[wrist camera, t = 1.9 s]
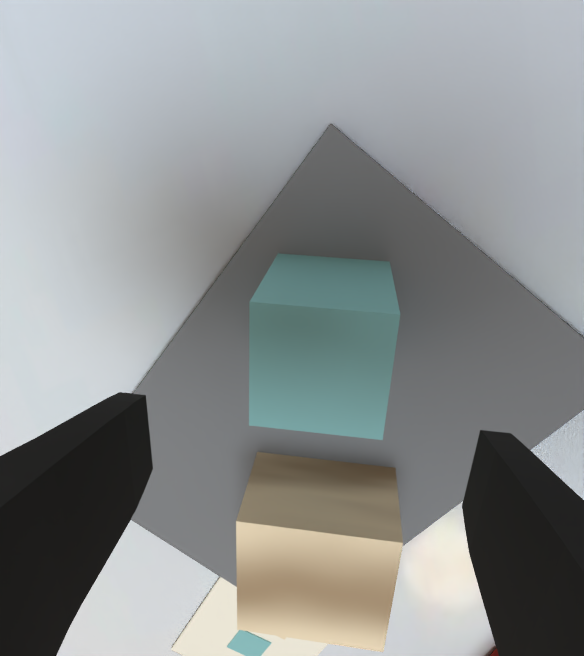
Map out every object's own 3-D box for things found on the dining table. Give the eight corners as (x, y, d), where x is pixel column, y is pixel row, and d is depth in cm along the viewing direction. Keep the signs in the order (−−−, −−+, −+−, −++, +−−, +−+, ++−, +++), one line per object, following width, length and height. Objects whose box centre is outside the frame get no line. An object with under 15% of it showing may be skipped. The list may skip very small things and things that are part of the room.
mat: (331, 123, 16) (330, 124, 16) (622, 370, 18) (627, 376, 18) (73, 474, 24) (69, 480, 23) (298, 618, 26) (297, 625, 26)
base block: (257, 451, 21) (236, 521, 18) (395, 467, 21) (403, 542, 17) (256, 550, 24) (237, 629, 20) (379, 567, 23) (383, 652, 19)
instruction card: (242, 543, 24) (241, 546, 24) (364, 602, 25) (364, 606, 25) (171, 647, 28) (170, 650, 28) (277, 695, 29) (277, 699, 29)
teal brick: (278, 253, 18) (249, 301, 13) (389, 261, 17) (400, 314, 13) (275, 351, 19) (249, 425, 15) (377, 361, 19) (382, 439, 14)
